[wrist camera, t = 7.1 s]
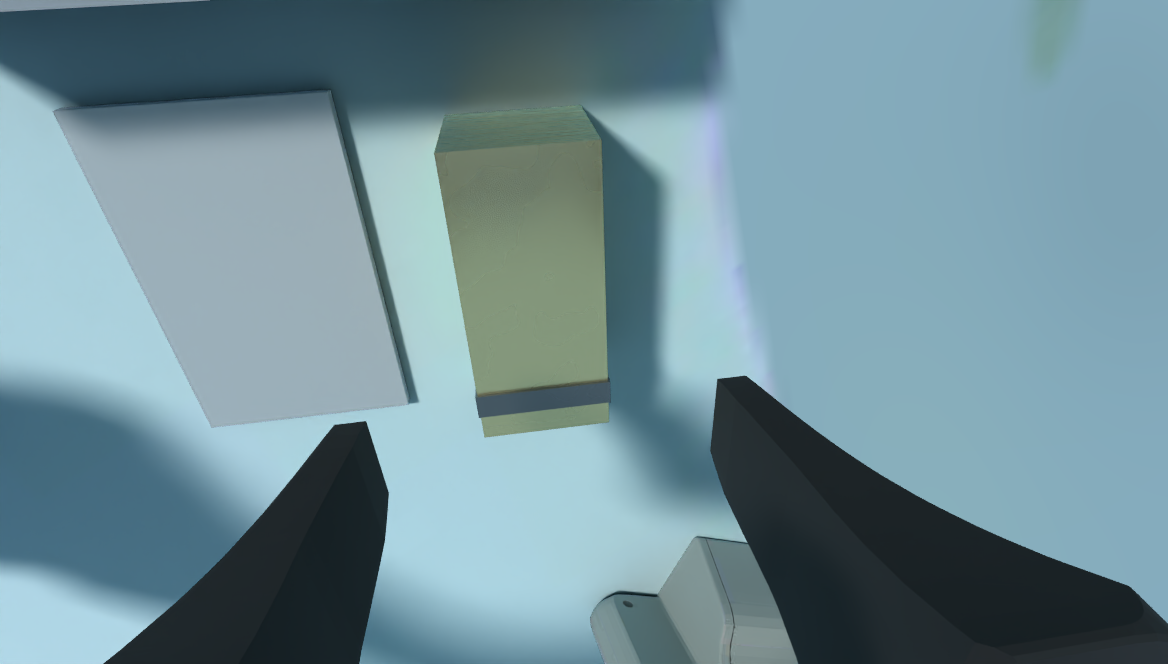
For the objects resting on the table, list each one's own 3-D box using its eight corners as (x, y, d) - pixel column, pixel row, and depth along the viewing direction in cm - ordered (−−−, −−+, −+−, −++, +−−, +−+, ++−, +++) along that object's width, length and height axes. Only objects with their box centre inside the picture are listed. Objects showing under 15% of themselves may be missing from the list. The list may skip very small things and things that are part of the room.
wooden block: (592, 352, 23) (611, 423, 19) (483, 364, 22) (483, 439, 19) (581, 104, 18) (604, 140, 14) (442, 114, 17) (431, 154, 14)
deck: (409, 398, 23) (408, 404, 22) (215, 420, 22) (211, 427, 22) (330, 89, 17) (327, 92, 16) (61, 107, 16) (52, 111, 16)
